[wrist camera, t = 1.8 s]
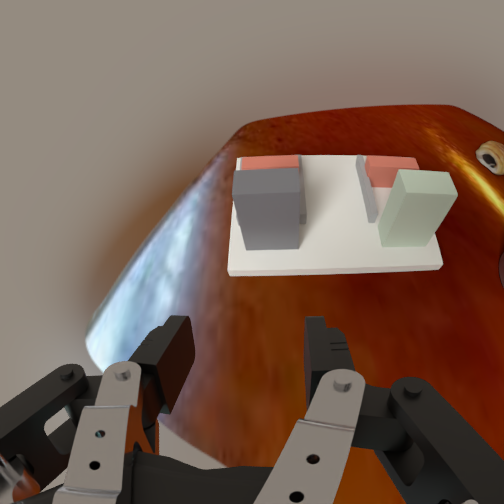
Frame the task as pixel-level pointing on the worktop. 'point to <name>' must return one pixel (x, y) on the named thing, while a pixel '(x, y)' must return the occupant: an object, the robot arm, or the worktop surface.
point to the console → (334, 220)
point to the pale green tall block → (415, 207)
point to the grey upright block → (268, 207)
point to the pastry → (492, 156)
